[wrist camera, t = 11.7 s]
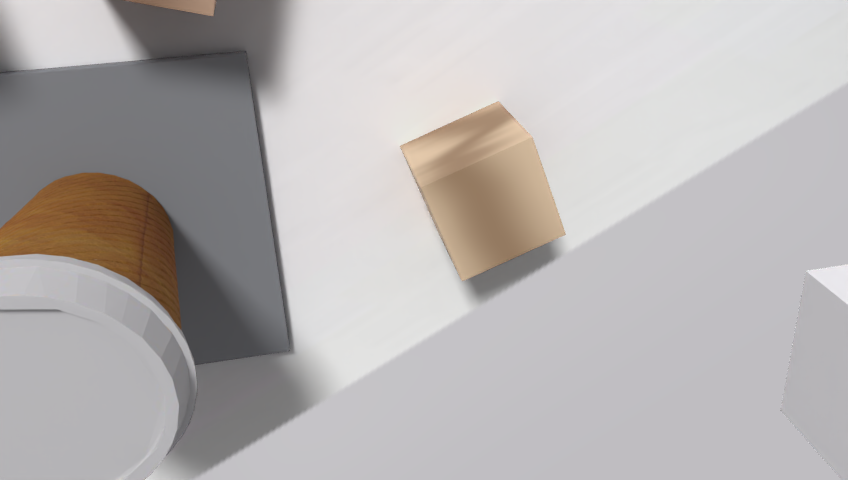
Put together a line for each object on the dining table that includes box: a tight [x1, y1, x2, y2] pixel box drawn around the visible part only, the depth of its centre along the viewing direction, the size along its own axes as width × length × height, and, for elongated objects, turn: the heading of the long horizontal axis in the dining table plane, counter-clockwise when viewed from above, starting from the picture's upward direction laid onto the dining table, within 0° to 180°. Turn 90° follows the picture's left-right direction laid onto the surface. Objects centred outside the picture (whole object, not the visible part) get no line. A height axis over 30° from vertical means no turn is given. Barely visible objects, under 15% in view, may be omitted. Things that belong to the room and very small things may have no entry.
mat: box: [0, 51, 290, 365], centre depth 34 cm, size 15×15×1 cm
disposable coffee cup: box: [0, 173, 197, 480], centre depth 29 cm, size 10×10×12 cm
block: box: [400, 102, 566, 281], centre depth 35 cm, size 5×5×5 cm
